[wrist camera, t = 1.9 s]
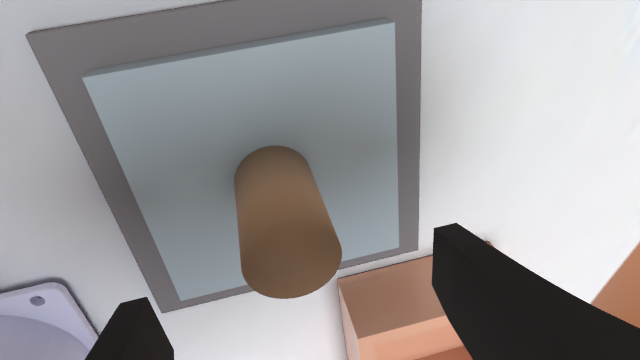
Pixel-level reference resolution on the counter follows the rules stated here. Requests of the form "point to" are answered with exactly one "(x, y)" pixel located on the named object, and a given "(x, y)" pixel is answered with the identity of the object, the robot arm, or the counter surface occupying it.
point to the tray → (397, 315)
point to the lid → (261, 156)
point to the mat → (206, 33)
